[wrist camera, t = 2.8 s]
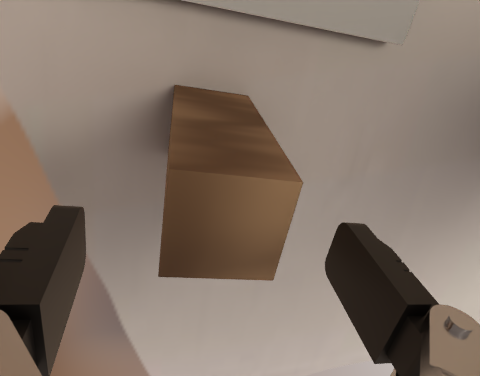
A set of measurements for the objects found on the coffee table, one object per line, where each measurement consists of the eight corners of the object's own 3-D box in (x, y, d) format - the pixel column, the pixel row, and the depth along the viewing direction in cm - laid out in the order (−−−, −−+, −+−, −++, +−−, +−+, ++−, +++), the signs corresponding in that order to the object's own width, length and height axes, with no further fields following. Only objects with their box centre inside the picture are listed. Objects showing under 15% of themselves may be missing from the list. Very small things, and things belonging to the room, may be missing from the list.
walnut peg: (248, 95, 19) (303, 182, 10) (235, 161, 21) (273, 280, 12) (174, 84, 18) (168, 168, 10) (168, 154, 20) (158, 276, 11)
